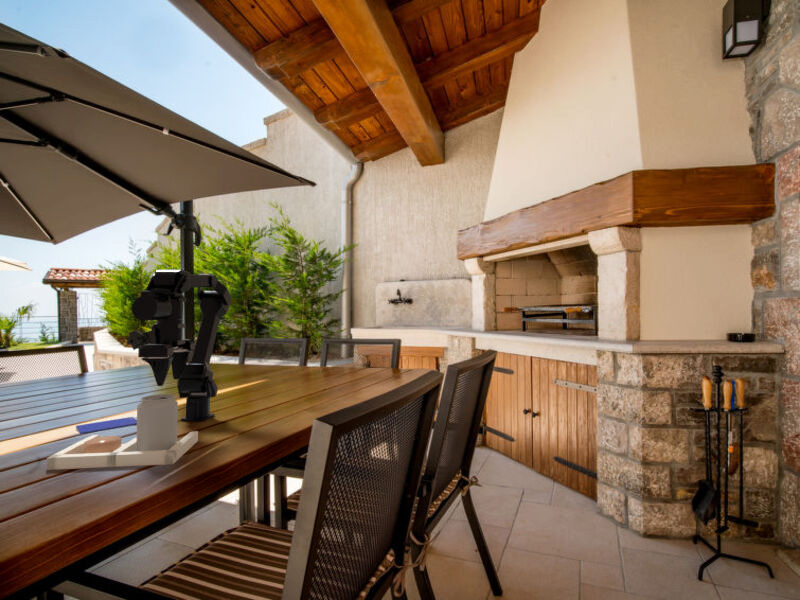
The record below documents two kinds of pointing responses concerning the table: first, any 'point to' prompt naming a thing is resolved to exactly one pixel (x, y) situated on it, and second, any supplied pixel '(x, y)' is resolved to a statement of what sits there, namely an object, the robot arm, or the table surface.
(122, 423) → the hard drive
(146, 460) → the divider tray
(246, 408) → the table surface
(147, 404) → the can
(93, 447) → the terracotta dish
